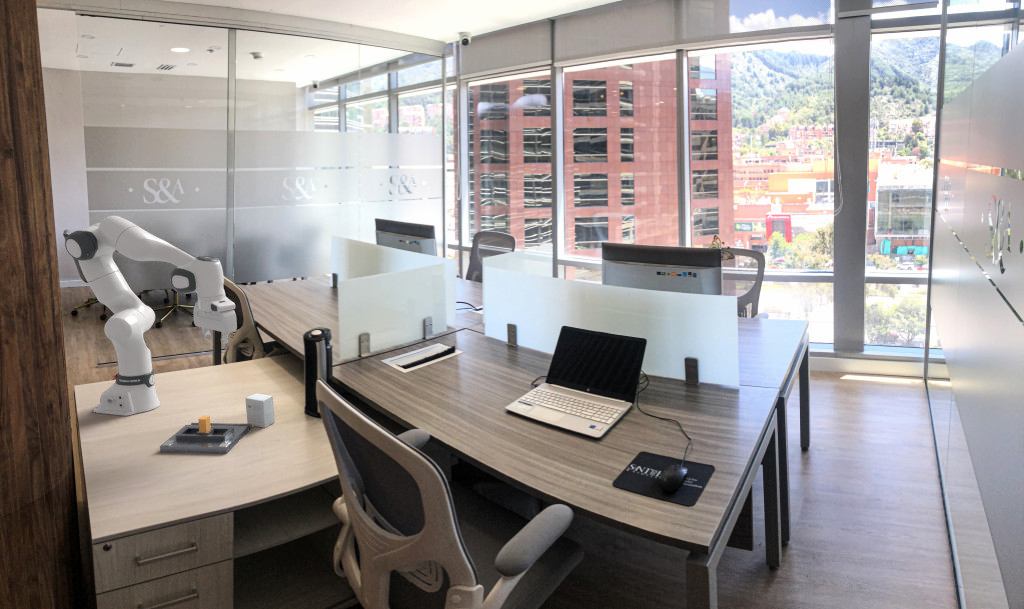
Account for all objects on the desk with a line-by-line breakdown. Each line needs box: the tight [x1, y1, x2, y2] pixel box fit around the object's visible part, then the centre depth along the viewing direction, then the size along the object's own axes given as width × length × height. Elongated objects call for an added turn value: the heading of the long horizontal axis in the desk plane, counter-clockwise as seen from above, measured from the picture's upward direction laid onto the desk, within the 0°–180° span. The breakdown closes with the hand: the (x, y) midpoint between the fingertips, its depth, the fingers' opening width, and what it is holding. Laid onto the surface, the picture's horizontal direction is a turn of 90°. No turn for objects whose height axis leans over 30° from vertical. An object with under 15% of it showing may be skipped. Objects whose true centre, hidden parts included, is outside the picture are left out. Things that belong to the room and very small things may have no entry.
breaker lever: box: [196, 415, 214, 435], centre depth 223 cm, size 4×4×6 cm
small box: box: [245, 393, 276, 429], centre depth 239 cm, size 8×6×10 cm
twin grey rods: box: [190, 422, 253, 431], centre depth 235 cm, size 22×3×1 cm, turn 91°
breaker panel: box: [159, 424, 249, 454], centre depth 223 cm, size 22×18×4 cm
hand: (216, 341), depth 229 cm, fingers open, 8 cm apart
